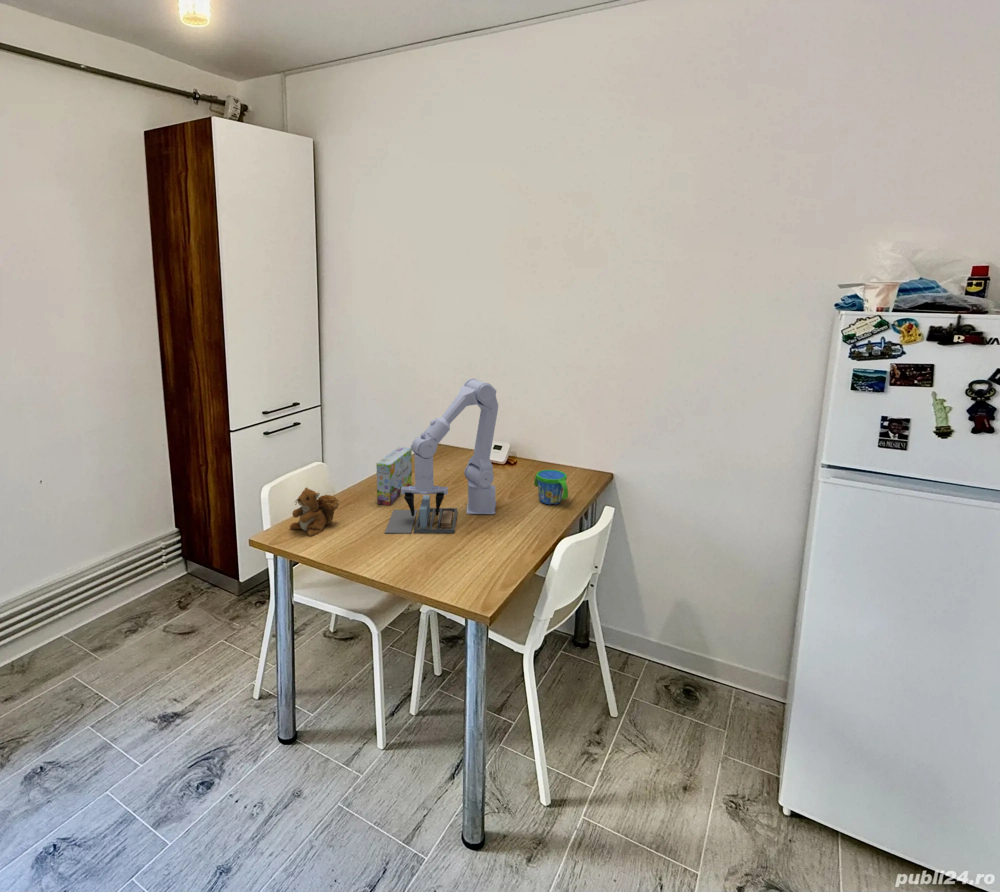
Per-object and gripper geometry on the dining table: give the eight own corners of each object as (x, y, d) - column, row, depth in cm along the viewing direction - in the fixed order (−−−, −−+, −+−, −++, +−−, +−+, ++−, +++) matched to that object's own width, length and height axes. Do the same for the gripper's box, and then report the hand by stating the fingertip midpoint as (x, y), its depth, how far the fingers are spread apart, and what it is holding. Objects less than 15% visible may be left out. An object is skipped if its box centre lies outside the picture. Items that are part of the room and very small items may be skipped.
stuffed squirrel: (287, 529, 183) (283, 489, 180) (326, 516, 194) (323, 478, 190) (305, 539, 177) (301, 498, 173) (344, 524, 187) (342, 485, 184)
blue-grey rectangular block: (430, 514, 196) (429, 495, 194) (426, 530, 184) (426, 509, 182) (424, 514, 196) (423, 495, 194) (420, 530, 184) (419, 509, 182)
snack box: (392, 506, 202) (390, 464, 198) (376, 504, 203) (374, 463, 199) (413, 485, 222) (412, 446, 218) (399, 484, 223) (397, 445, 219)
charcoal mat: (417, 510, 199) (417, 509, 199) (410, 533, 181) (410, 532, 181) (393, 510, 199) (393, 509, 198) (384, 533, 181) (384, 532, 181)
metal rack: (457, 511, 199) (457, 508, 198) (454, 533, 182) (454, 530, 182) (420, 511, 198) (420, 507, 198) (413, 533, 182) (413, 529, 181)
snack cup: (575, 506, 205) (577, 478, 202) (550, 512, 200) (551, 483, 197) (550, 492, 218) (551, 465, 215) (525, 496, 212) (526, 469, 210)
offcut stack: (452, 514, 196) (452, 509, 196) (450, 529, 185) (450, 523, 184) (443, 514, 196) (443, 508, 195) (441, 529, 185) (440, 523, 184)
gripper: (399, 478, 182) (400, 519, 185) (446, 479, 182) (447, 520, 186) (402, 471, 188) (403, 511, 192) (447, 471, 189) (448, 511, 193)
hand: (425, 514), depth 189 cm, fingers open, 7 cm apart
